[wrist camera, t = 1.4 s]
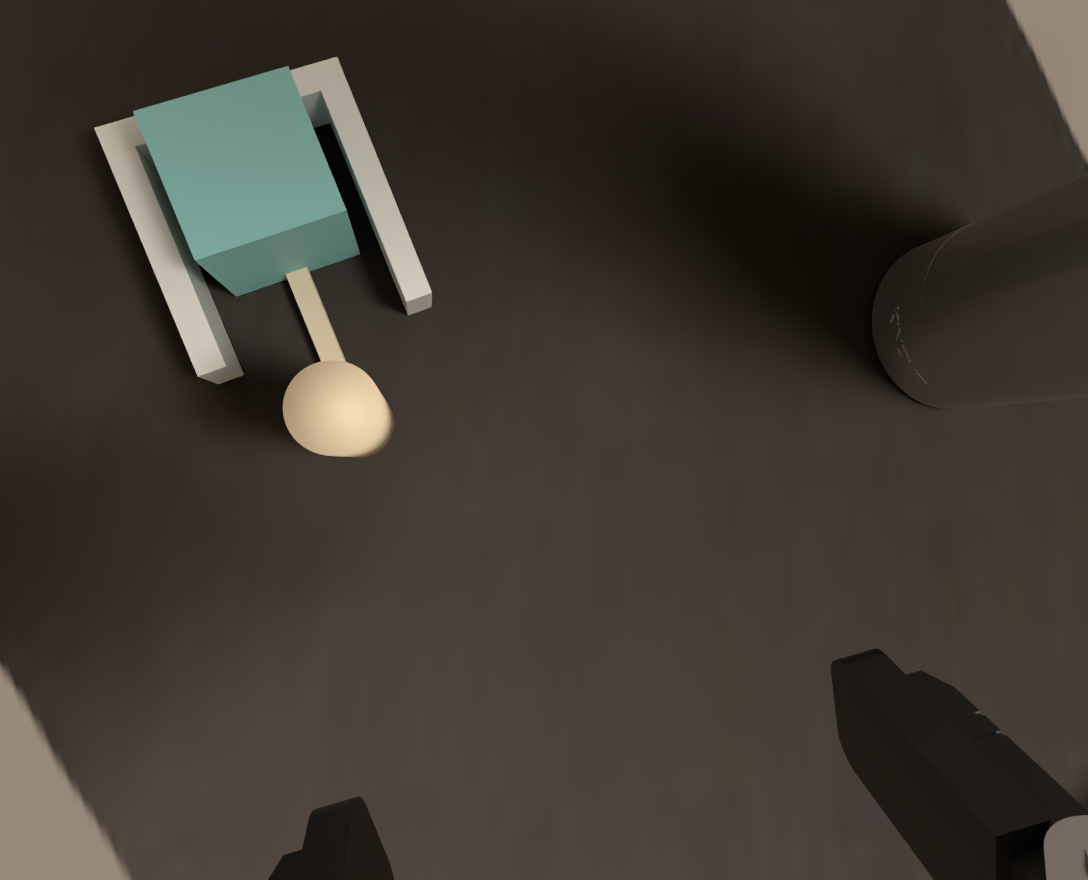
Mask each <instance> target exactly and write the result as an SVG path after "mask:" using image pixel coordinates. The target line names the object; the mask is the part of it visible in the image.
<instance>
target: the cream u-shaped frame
mask: <svg viewBox="0 0 1088 880" xmlns="http://www.w3.org/2000/svg"><path fill="white" fill-rule="evenodd" d="M290 72H291V74H292V77H293V79H294V82H295V84H296V87H297V89H298V91H299V94H300V96H301V99H302V101H303V104H304V106H305V109H306V111H307V114H308V116H309V119H310V121H311V124H312V126H313V128H316V127H319V126H322V125H326V124H329V123H330V124H331V127H332V129H333V132H334V134H335V137H336V139H337V141H338V144H339V146H340V149H341V151H342V154H343V156H344V159H345V161H346V164H347V166H348V169H349V171H350V174H351V176H352V179H353V181H354V184H355V186H356V189H357V191H358V193H359V196H360V198H361V201H362V203H363V206H364V208H365V211H366V213H367V216H368V218H369V221H370V223H371V226H372V228H373V231H374V233H375V236H376V238H377V241H378V243H379V245H380V248H381V250H382V253H383V255H384V258H385V260H386V263H387V265H388V268H389V270H390V273H391V275H392V278H393V280H394V283H395V285H396V288H397V290H398V293H399V295H400V297H401V300H402V302H403V305H404V307H405V310H406V312H407V315H411V314H414V313H417V312H419V311H422V310H425V309H428V308H430V307H431V303H432V291H431V289H430V286H429V284H428V282H427V279H426V277H425V274H424V272H423V269H422V267H421V264H420V262H419V259H418V257H417V254H416V252H415V249H414V247H413V244H412V242H411V239H410V237H409V234H408V232H407V229H406V227H405V224H404V222H403V219H402V217H401V214H400V212H399V209H398V207H397V204H396V202H395V199H394V197H393V194H392V192H391V189H390V187H389V185H388V182H387V180H386V177H385V175H384V172H383V170H382V167H381V165H380V162H379V160H378V157H377V155H376V152H375V150H374V147H373V145H372V142H371V140H370V137H369V135H368V132H367V130H366V127H365V125H364V122H363V120H362V117H361V115H360V112H359V110H358V107H357V105H356V102H355V100H354V97H353V95H352V93H351V90H350V88H349V85H348V83H347V80H346V78H345V75H344V73H343V70H342V68H341V65H340V63H339V60H338V58H337V57H334V58H331V59H327V60H324V61H321V62H317V63H314V64H310V65H307V66H304V67H300V68H297V69H293V70H290ZM94 129H95V131H96V134H97V136H98V138H99V141H100V143H101V146H102V148H103V150H104V153H105V155H106V158H107V160H108V162H109V165H110V167H111V170H112V172H113V174H114V177H115V179H116V182H117V184H118V186H119V189H120V191H121V194H122V196H123V198H124V201H125V203H126V206H127V208H128V210H129V213H130V215H131V218H132V220H133V222H134V225H135V227H136V230H137V232H138V234H139V237H140V239H141V242H142V244H143V246H144V249H145V251H146V254H147V256H148V258H149V261H150V263H151V266H152V268H153V270H154V273H155V275H156V278H157V280H158V282H159V285H160V287H161V290H162V292H163V294H164V297H165V299H166V302H167V304H168V306H169V309H170V311H171V314H172V316H173V318H174V321H175V323H176V326H177V328H178V330H179V333H180V335H181V338H182V340H183V342H184V345H185V347H186V350H187V352H188V354H189V357H190V359H191V362H192V364H193V366H194V369H195V371H196V374H197V376H198V377H200V378H203V379H205V380H208V381H211V382H214V383H216V384H220V383H223V382H226V381H229V380H232V379H234V378H237V377H240V376H243V375H244V374H243V371H242V369H241V366H240V364H239V362H238V359H237V357H236V354H235V352H234V349H233V347H232V345H231V342H230V340H229V337H228V335H227V333H226V330H225V328H224V325H223V323H222V320H221V318H220V316H219V313H218V311H217V308H216V306H215V304H214V301H213V299H212V296H211V294H210V291H209V289H208V287H207V284H206V282H205V279H204V277H203V275H202V272H201V270H200V267H199V265H198V263H197V262H196V261H195V260H194V258H193V255H192V253H191V250H190V248H189V246H188V243H187V241H186V238H185V236H184V233H183V231H182V229H181V226H180V224H179V221H178V219H177V217H176V214H175V212H174V209H173V207H172V204H171V202H170V200H169V197H168V195H167V192H166V190H165V188H164V185H163V183H162V180H161V178H160V175H159V173H158V171H157V168H156V166H155V163H154V161H153V159H152V156H151V154H150V151H149V149H148V146H147V144H146V142H145V139H144V137H143V134H142V132H141V130H140V127H139V125H138V122H137V120H136V117H135V116H133V117H130V118H126V119H123V120H119V121H116V122H112V123H109V124H106V125H102V126H99V127H95V128H94Z"/></svg>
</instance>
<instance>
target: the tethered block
mask: <svg viewBox="0 0 1088 880" xmlns="http://www.w3.org/2000/svg"><path fill="white" fill-rule="evenodd" d="M133 113H134V115H135V117H136V120H137V122H138V125H139V127H140V130H141V132H142V134H143V137H144V139H145V142H146V144H147V146H148V149H149V151H150V154H151V156H152V159H153V161H154V163H155V166H156V168H157V171H158V173H159V175H160V178H161V180H162V183H163V185H164V188H165V190H166V192H167V195H168V197H169V200H170V202H171V204H172V207H173V209H174V212H175V214H176V217H177V219H178V221H179V224H180V226H181V229H182V231H183V233H184V236H185V238H186V241H187V243H188V246H189V248H190V250H191V253H192V255H193V258H194V260H195V261H196V262H197V263H198V264H199V265H200V266H201V267H203V268H204V269H205V270H206V271H207V272H208V273H209V274H211V275H212V276H213V277H214V278H215V279H216V280H218V281H219V282H220V283H221V284H222V285H223V286H224V287H226V288H227V289H228V290H229V291H230V292H231V293H232V294H234V295H235V296H236V297H237V296H240V295H243V294H246V293H249V292H252V291H255V290H258V289H260V288H263V287H266V286H269V285H272V284H275V283H278V282H281V281H284V280H287V279H288V282H289V284H290V287H291V289H292V291H293V294H294V296H295V299H296V301H297V304H298V306H299V309H300V311H301V313H302V316H303V318H304V321H305V323H306V326H307V328H308V331H309V333H310V335H311V338H312V340H313V343H314V345H315V348H316V350H317V352H318V355H319V357H320V360H321V362H317V363H314V364H312V365H310V366H308V367H306V368H304V369H303V370H302V371H300V372H299V373H298V374H297V375H296V376H295V377H294V378H293V380H292V381H291V382H290V384H289V386H288V388H287V390H286V392H285V395H284V400H283V416H284V420H285V423H286V426H287V428H288V430H289V432H290V433H291V435H292V436H293V438H294V439H295V440H296V441H297V442H298V443H299V444H301V445H302V446H303V447H305V448H306V449H308V450H310V451H312V452H314V453H317V454H321V455H327V456H343V457H368V456H371V455H374V454H376V453H378V452H379V451H381V450H382V449H383V448H384V447H385V446H386V445H387V444H388V442H389V441H390V439H391V437H392V434H393V431H394V416H393V413H392V410H391V408H390V407H389V405H388V403H387V402H386V400H385V399H384V397H383V396H382V394H381V393H380V391H379V389H378V388H377V386H376V385H375V383H374V382H373V380H372V379H371V378H370V377H369V376H368V375H367V374H366V373H365V372H364V371H363V370H361V369H360V368H358V367H356V366H355V365H353V364H350V363H347V362H346V360H345V357H344V355H343V353H342V350H341V348H340V345H339V343H338V340H337V338H336V335H335V333H334V331H333V328H332V326H331V323H330V321H329V318H328V316H327V313H326V311H325V308H324V306H323V304H322V301H321V299H320V296H319V294H318V291H317V289H316V286H315V284H314V282H313V279H312V277H311V274H310V271H313V270H316V269H319V268H322V267H325V266H328V265H330V264H333V263H336V262H339V261H342V260H345V259H348V258H351V257H354V256H357V255H360V252H359V249H358V245H357V242H356V239H355V236H354V232H353V229H352V226H351V223H350V220H349V216H348V213H347V210H346V208H345V205H344V203H343V200H342V198H341V195H340V193H339V190H338V188H337V185H336V183H335V180H334V178H333V175H332V173H331V171H330V168H329V166H328V163H327V161H326V158H325V156H324V153H323V151H322V148H321V146H320V143H319V141H318V138H317V136H316V133H315V131H314V129H313V126H312V124H311V121H310V119H309V116H308V114H307V111H306V109H305V106H304V104H303V101H302V99H301V96H300V94H299V91H298V89H297V87H296V84H295V82H294V79H293V77H292V74H291V72H290V69H289V67H288V66H286V67H283V68H279V69H276V70H272V71H269V72H266V73H262V74H259V75H255V76H252V77H248V78H245V79H242V80H238V81H235V82H231V83H228V84H224V85H221V86H218V87H214V88H211V89H207V90H204V91H200V92H197V93H194V94H190V95H187V96H183V97H180V98H176V99H173V100H170V101H166V102H163V103H159V104H156V105H153V106H149V107H146V108H142V109H139V110H135V111H133Z"/></svg>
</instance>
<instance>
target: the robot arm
mask: <svg viewBox="0 0 1088 880" xmlns="http://www.w3.org/2000/svg"><path fill="white" fill-rule="evenodd" d="M871 320H872V333H873V340H874V344H875V347H876V351H877V355H878V357H879V359H880V361H881V363H882V365H883V367H884V369H885V371H886V372H887V374H888V375H889V376H890V378H891V379H892V380H893V381H894V383H895V384H896V385H897V386H898V387H899V388H900V389H901V390H903V391H904V392H905V393H906V394H907V395H908V396H910V397H912V398H913V399H915V400H917V401H919V402H921V403H923V404H925V405H928V406H932V407H935V408H939V409H964V408H975V407H985V406H996V405H1006V404H1020V403H1030V402H1040V401H1051V400H1061V399H1071V398H1081V397H1088V174H1085V175H1083V176H1081V177H1078V178H1076V179H1074V180H1071V181H1069V182H1067V183H1064V184H1062V185H1060V186H1058V187H1055V188H1053V189H1051V190H1048V191H1046V192H1044V193H1041V194H1039V195H1037V196H1034V197H1032V198H1030V199H1027V200H1025V201H1023V202H1021V203H1018V204H1016V205H1014V206H1011V207H1009V208H1007V209H1004V210H1002V211H1000V212H997V213H995V214H993V215H990V216H988V217H986V218H984V219H981V220H979V221H977V222H974V223H971V224H969V225H967V226H964V227H962V228H960V229H958V230H955V231H953V232H951V233H948V234H946V235H944V236H942V237H939V238H937V239H935V240H932V241H930V242H928V243H925V244H923V245H921V246H918V247H916V248H914V249H912V250H910V251H909V252H907V253H906V254H904V255H903V256H901V257H900V258H899V259H898V260H897V261H896V262H895V263H894V264H893V265H892V266H891V267H890V268H889V269H888V271H887V272H886V274H885V276H884V277H883V279H882V281H881V283H880V284H879V287H878V290H877V293H876V296H875V299H874V302H873V311H872V319H871ZM831 675H832V683H833V692H834V701H835V710H836V719H837V728H838V734H839V739H840V742H841V745H842V748H843V750H844V753H845V755H846V757H847V759H848V761H849V763H850V765H851V767H852V768H853V770H854V772H855V773H856V774H857V776H858V777H859V778H860V780H861V781H862V783H863V784H864V785H865V787H866V788H867V789H868V791H869V792H870V793H871V795H872V796H873V798H874V799H875V800H876V802H877V803H878V804H879V806H880V807H881V808H882V810H883V811H884V812H885V814H886V815H887V817H888V818H889V819H890V821H891V822H892V823H893V825H894V826H895V827H896V829H897V830H898V832H899V833H900V834H901V836H902V837H903V838H904V840H905V841H906V842H907V844H908V845H909V846H910V848H911V849H912V851H913V852H914V853H915V855H916V856H917V857H918V859H919V860H920V861H921V863H922V864H923V866H924V867H925V868H926V870H927V871H928V872H929V874H930V875H931V876H932V878H933V879H934V880H1088V811H1087V810H1086V809H1085V808H1084V807H1083V806H1082V805H1081V804H1080V803H1078V802H1077V801H1076V800H1075V799H1074V798H1073V797H1072V796H1071V795H1070V794H1069V793H1068V792H1067V791H1066V790H1064V789H1063V788H1062V787H1061V786H1060V785H1059V784H1058V783H1057V782H1056V781H1055V780H1054V779H1053V778H1052V777H1050V776H1049V775H1048V774H1047V773H1046V772H1045V771H1044V770H1043V769H1042V768H1041V767H1040V766H1039V765H1038V764H1037V763H1035V762H1034V761H1033V760H1032V759H1031V758H1030V757H1029V756H1028V755H1027V754H1026V753H1025V752H1024V751H1023V750H1021V749H1020V748H1019V747H1018V746H1017V745H1016V744H1015V743H1014V742H1013V741H1012V740H1011V739H1010V738H1009V737H1007V736H1006V735H1004V736H1003V735H1002V733H1001V731H1000V729H999V728H998V727H997V726H996V725H995V724H993V723H992V722H991V721H990V720H989V719H988V718H987V717H986V716H985V715H983V716H982V715H981V714H980V711H979V710H978V709H977V708H976V707H975V706H974V705H973V704H972V703H971V702H970V701H969V700H968V699H967V698H966V697H964V696H963V695H962V694H961V693H960V692H959V691H958V690H957V689H956V688H955V687H953V686H951V685H949V684H947V683H945V682H943V681H941V680H939V679H937V678H935V677H933V676H931V675H929V674H927V673H925V672H923V671H917V672H914V673H911V674H907V675H906V674H905V673H904V672H903V671H902V670H901V669H900V668H899V667H898V666H897V665H896V664H895V663H894V662H893V661H892V660H891V659H890V658H889V657H888V656H887V655H886V654H884V653H883V652H882V651H881V650H879V649H872V650H869V651H865V652H862V653H858V654H855V655H852V656H848V657H845V658H841V659H838V660H835V661H833V662H832V665H831ZM268 880H394V878H393V873H392V869H391V866H390V863H389V860H388V857H387V855H386V853H385V850H384V848H383V845H382V843H381V840H380V838H379V836H378V833H377V831H376V828H375V826H374V823H373V821H372V818H371V816H370V814H369V811H368V809H367V806H366V804H365V802H364V800H363V799H362V798H361V797H356V798H352V799H349V800H345V801H342V802H338V803H335V804H331V805H328V806H324V807H321V808H318V809H314V810H313V811H312V812H311V815H310V817H309V821H308V825H307V830H306V834H305V839H304V843H303V848H302V850H299V851H296V852H293V853H289V854H286V855H283V857H282V858H281V860H280V862H279V863H278V865H277V866H276V868H275V870H274V871H273V873H272V874H271V876H270V878H269V879H268Z"/></svg>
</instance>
